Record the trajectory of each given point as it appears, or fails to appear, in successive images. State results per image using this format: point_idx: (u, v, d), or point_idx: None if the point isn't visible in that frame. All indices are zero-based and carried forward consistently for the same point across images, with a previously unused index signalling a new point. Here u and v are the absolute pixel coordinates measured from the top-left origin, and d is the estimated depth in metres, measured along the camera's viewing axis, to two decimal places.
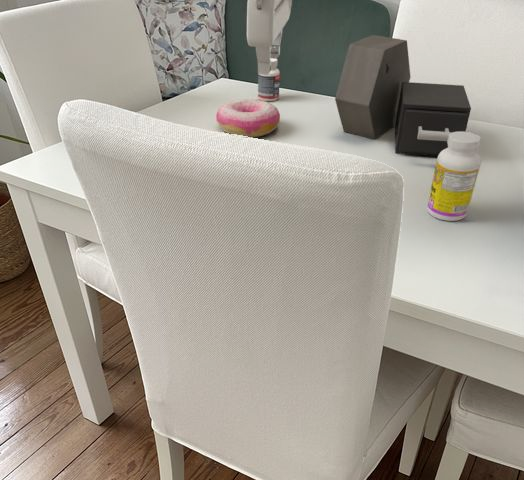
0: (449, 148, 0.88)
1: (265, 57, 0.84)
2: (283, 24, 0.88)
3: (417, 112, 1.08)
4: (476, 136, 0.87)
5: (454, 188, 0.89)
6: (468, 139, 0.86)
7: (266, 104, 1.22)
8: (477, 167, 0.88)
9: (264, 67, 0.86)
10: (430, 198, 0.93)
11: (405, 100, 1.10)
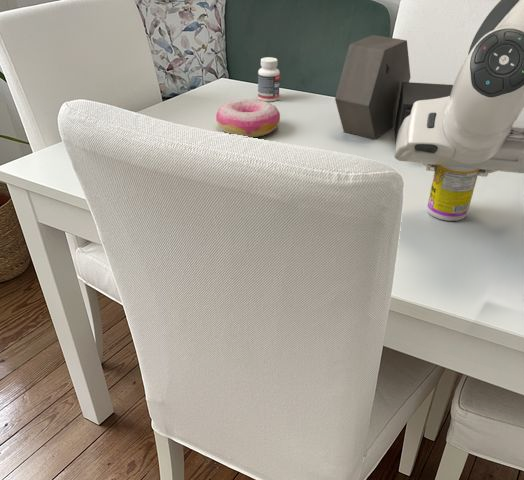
0: None
1: None
2: None
3: None
4: None
5: (454, 188, 0.89)
6: None
7: (266, 104, 1.22)
8: None
9: None
10: (430, 198, 0.93)
11: (405, 100, 1.10)
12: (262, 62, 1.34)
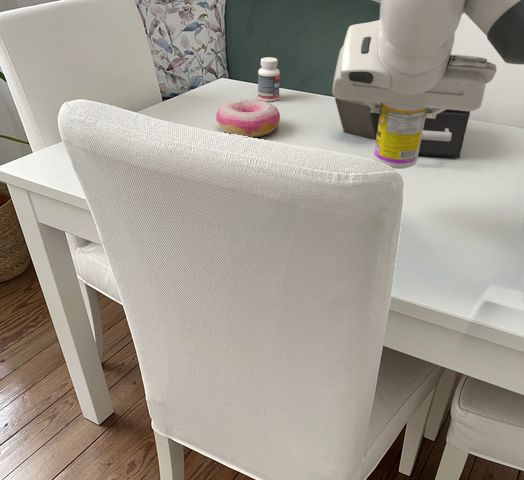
0: None
1: None
2: None
3: None
4: None
5: (399, 131, 0.82)
6: None
7: (266, 104, 1.22)
8: (424, 107, 0.81)
9: None
10: (376, 144, 0.86)
11: None
12: (262, 62, 1.34)
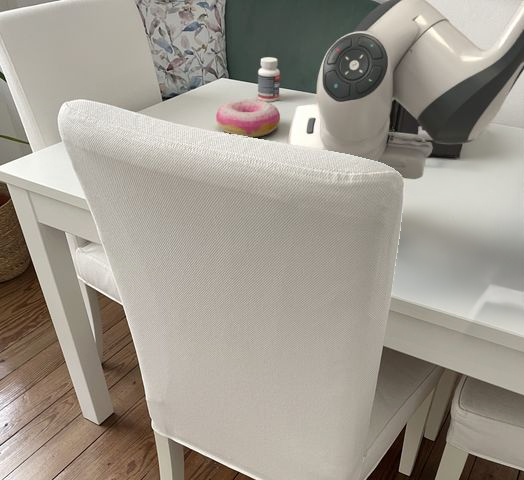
0: None
1: None
2: None
3: None
4: None
5: None
6: None
7: (266, 104, 1.22)
8: None
9: None
10: None
11: None
12: (262, 62, 1.34)
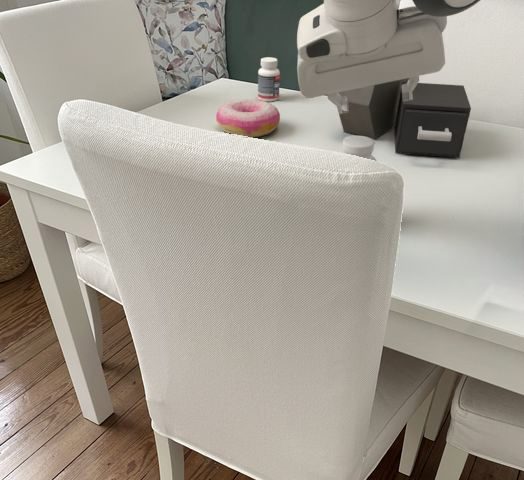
0: None
1: None
2: None
3: (417, 112, 1.08)
4: (370, 140, 0.85)
5: None
6: (361, 143, 0.84)
7: (266, 104, 1.22)
8: None
9: None
10: None
11: None
12: (262, 62, 1.34)
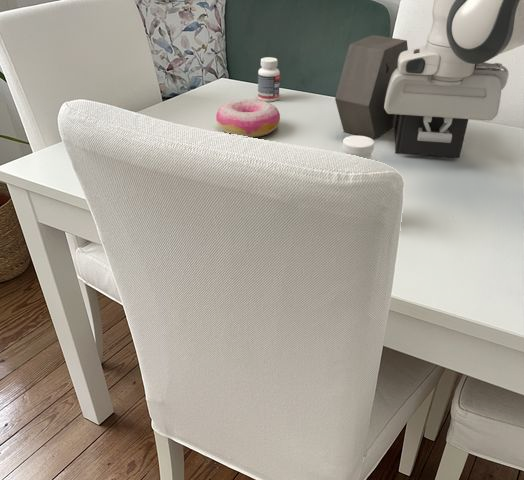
0: None
1: None
2: None
3: None
4: (370, 140, 0.85)
5: None
6: (361, 143, 0.84)
7: (266, 104, 1.22)
8: None
9: None
10: None
11: None
12: (262, 62, 1.34)
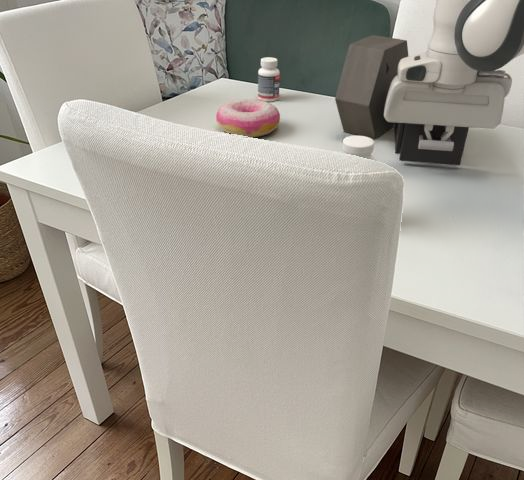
0: None
1: None
2: None
3: None
4: (370, 140, 0.85)
5: None
6: (361, 143, 0.84)
7: (266, 104, 1.22)
8: None
9: None
10: None
11: None
12: (262, 62, 1.34)
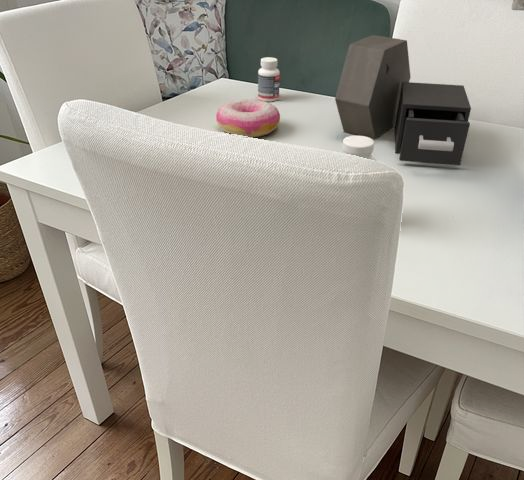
0: None
1: None
2: None
3: (418, 121, 1.04)
4: (370, 140, 0.85)
5: None
6: (361, 143, 0.84)
7: (266, 104, 1.22)
8: None
9: None
10: None
11: (405, 100, 1.10)
12: (262, 62, 1.34)
